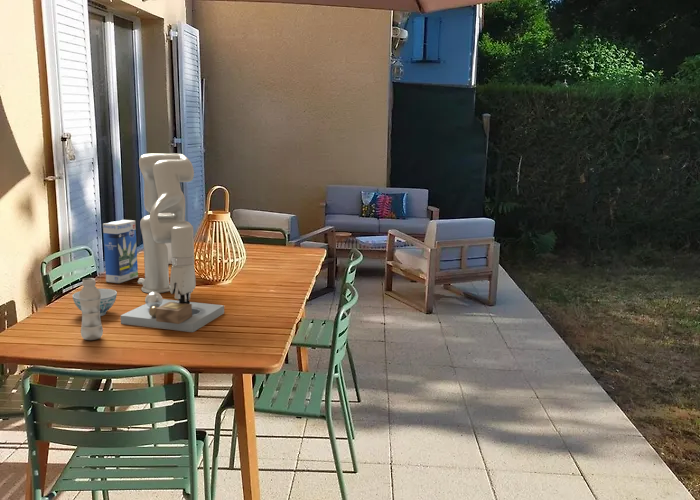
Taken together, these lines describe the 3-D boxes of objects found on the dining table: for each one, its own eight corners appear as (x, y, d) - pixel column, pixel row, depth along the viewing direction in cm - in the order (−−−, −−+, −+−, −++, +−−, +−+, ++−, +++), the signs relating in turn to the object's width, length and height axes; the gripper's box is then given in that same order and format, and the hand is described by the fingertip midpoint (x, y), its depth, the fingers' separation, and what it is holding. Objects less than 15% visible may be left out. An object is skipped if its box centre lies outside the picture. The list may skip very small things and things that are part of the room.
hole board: (120, 323, 224) (120, 315, 223) (157, 305, 246) (157, 298, 245) (192, 332, 216) (192, 323, 216) (224, 313, 238) (224, 305, 238)
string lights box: (119, 283, 277) (116, 224, 272) (105, 282, 279) (101, 223, 274) (138, 276, 289) (136, 220, 284) (124, 275, 291) (121, 219, 286)
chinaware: (75, 322, 224) (74, 301, 223) (72, 311, 237) (70, 291, 236) (120, 317, 231) (119, 296, 229) (114, 306, 244) (113, 286, 242)
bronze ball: (146, 317, 221) (146, 307, 220) (153, 314, 225) (152, 304, 224) (156, 319, 220) (156, 308, 219) (162, 315, 224) (162, 305, 223)
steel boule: (142, 309, 230) (141, 293, 229) (151, 305, 236) (150, 289, 235) (156, 311, 229) (156, 294, 228) (166, 306, 235) (165, 290, 233)
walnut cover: (156, 321, 217) (155, 308, 216) (170, 314, 225) (169, 301, 224) (178, 323, 214) (178, 310, 214) (192, 316, 223) (191, 303, 222)
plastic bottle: (84, 335, 211) (80, 276, 207) (106, 335, 211) (102, 276, 207) (78, 342, 205) (74, 281, 201) (100, 342, 205) (96, 281, 201)
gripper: (184, 255, 230) (185, 304, 234) (161, 264, 216) (163, 316, 220) (203, 257, 228) (204, 306, 232) (181, 266, 214) (183, 319, 218)
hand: (184, 311), depth 226 cm, fingers closed
